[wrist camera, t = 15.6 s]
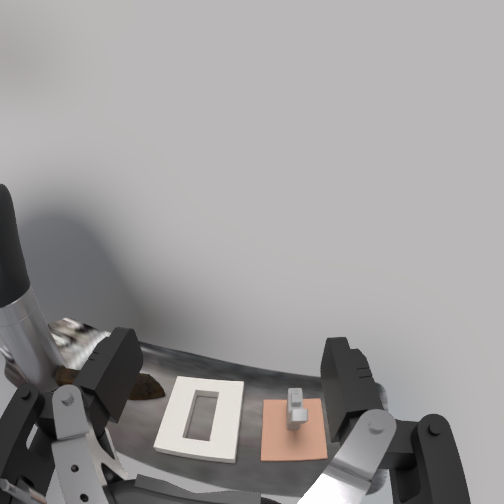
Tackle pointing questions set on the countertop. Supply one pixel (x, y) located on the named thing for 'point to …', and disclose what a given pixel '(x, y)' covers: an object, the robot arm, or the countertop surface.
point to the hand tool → (141, 390)
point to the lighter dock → (224, 423)
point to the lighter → (295, 409)
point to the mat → (292, 433)
